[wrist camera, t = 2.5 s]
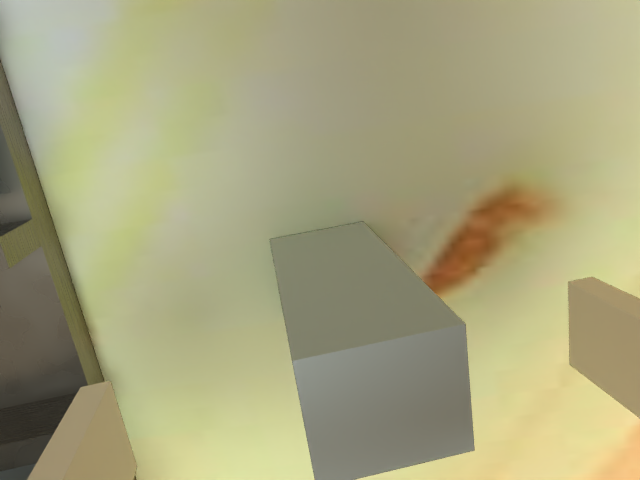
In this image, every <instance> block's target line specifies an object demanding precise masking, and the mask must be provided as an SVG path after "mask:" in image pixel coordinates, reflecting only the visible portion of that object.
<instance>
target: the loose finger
mask: <svg viewBox="0 0 640 480" xmlns="http://www.w3.org/2000/svg"><path fill="white" fill-rule="evenodd" d="M270 245H271V250H272V255H273V261H274V266H275V272H276V277H277V282H278V288H279V293H280V298H281V304H282V309H283V315H284V320H285V325H286V331H287V336H288V342H289V347H290V352H291V358H292V363H293V368H294V374H295V379H296V384H297V389H298V394H299V400H300V405H301V410H302V415H303V421H304V426H305V431H306V436H307V441H308V447H309V452H310V457H311V462H312V467H313V473H314V478H315V480H355V479H359V478H363V477H367V476H371V475H375V474H379V473H383V472H388V471H392V470H396V469H400V468H404V467H408V466H412V465H416V464H421V463H425V462H429V461H433V460H437V459H441V458H445V457H450V456H454V455H458V454H462V453H466V452H470V451H474V450H475V449H474V436H473V422H472V408H471V394H470V380H469V366H468V353H467V339H466V325H465V323H464V322H463V321H462V320H461V319H460V318H459V317H458V316H457V315H456V314H455V313H454V312H453V311H452V310H451V309H450V308H449V307H448V306H447V305H446V304H445V303H444V302H443V301H442V300H441V299H440V298H439V297H438V296H437V295H436V294H435V293H434V292H433V291H432V290H431V289H430V288H429V287H428V286H427V285H426V284H425V283H424V282H423V281H422V280H421V279H420V278H419V277H418V276H417V275H416V274H415V273H414V272H413V271H412V270H411V269H410V268H409V267H408V266H407V265H406V264H405V263H404V262H403V261H402V260H401V259H400V258H399V257H398V256H397V255H396V254H395V253H394V252H393V251H392V250H391V249H390V248H389V247H388V246H387V245H386V244H385V243H384V242H383V241H382V240H381V239H380V238H379V237H378V236H377V235H376V234H375V233H374V232H373V231H372V230H371V229H370V228H369V227H368V226H367V225H366V224H365V223H364V222H358V223H353V224H347V225H342V226H337V227H331V228H326V229H321V230H316V231H310V232H305V233H300V234H294V235H289V236H284V237H278V238H273V239H270Z"/></svg>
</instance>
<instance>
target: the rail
mask: <svg viewBox="0 0 640 480" xmlns="http://www.w3.org/2000/svg"><path fill="white" fill-rule="evenodd" d="M102 382H104V380H103V376H102V373H101V370H100V367H99V364H98V361H97V358H96V355H95V352H94V349H93V346H92V342H91V339H90V336H89V333H88V330H87V327H86V324H85V321H84V318H83V315H82V312H81V308H80V305H79V302H78V299H77V296H76V293H75V290H74V287H73V284H72V281H71V278H70V274H69V271H68V268H67V265H66V262H65V259H64V256H63V253H62V250H61V247H60V244H59V240H58V237H57V234H56V231H55V228H54V225H53V222H52V219H51V216H50V213H49V210H48V206H47V203H46V200H45V197H44V194H43V191H42V188H41V185H40V182H39V179H38V176H37V172H36V169H35V166H34V163H33V160H32V157H31V154H30V151H29V148H28V145H27V142H26V138H25V135H24V132H23V129H22V126H21V123H20V120H19V117H18V114H17V111H16V108H15V104H14V101H13V98H12V95H11V92H10V89H9V86H8V83H7V80H6V77H5V74H4V70H3V67H2V64H1V61H0V471H5V470H9V469H14V468H18V467H22V466H27V465H31V464H36V463H37V462H38V460H39V458H40V456H41V455H42V453H43V451H44V450H45V448H46V446H47V444H48V443H49V441H50V439H51V437H52V436H53V434H54V432H55V430H56V429H57V427H58V425H59V424H60V422H61V420H62V418H63V417H64V415H65V413H66V411H67V410H68V408H69V406H70V405H71V403H72V401H73V399H74V398H75V396H76V394H77V392H78V391H79V389H80V387H84V386H88V385H93V384H98V383H102ZM133 480H136V478H135V476H134V479H133Z"/></svg>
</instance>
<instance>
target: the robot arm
mask: <svg viewBox="0 0 640 480" xmlns="http://www.w3.org/2000/svg"><path fill="white" fill-rule="evenodd" d="M568 301H569V364H570V365H571V366H572V367H573V368H575V369H576V370H577V371H579V372H580V373H581V374H583V375H584V376H585V377H587V378H588V379H589V380H590V381H592V382H593V383H594V384H596V385H597V386H598V387H600V388H601V389H602V390H603V391H605V392H606V393H607V394H609V395H610V396H611V397H613V398H614V399H615V400H617V401H618V402H619V403H620V404H622V405H623V406H624V407H626V408H627V409H628V410H630V411H631V412H632V413H633V414H635V415H636V416H637V417H639V418H640V299H639V298H637V297H635V296H633V295H630V294H628V293H626V292H624V291H622V290H620V289H618V288H615V287H613V286H611V285H609V284H607V283H605V282H603V281H600V280H598V279H596V278H594V277H588V278H583V279H579V280H574V281H569V282H568ZM136 469H137V464H136V461H135V458H134V455H133V452H132V448H131V445H130V442H129V439H128V436H127V432H126V429H125V426H124V423H123V419H122V416H121V413H120V410H119V407H118V403H117V400H116V397H115V394H114V391H113V387H112V384H111V381H107V382H102V383H98V384H93V385H88V386H84V387H80V389H79V391H78V392H77V394H76V396H75V398H74V399H73V401H72V403H71V405H70V406H69V408H68V410H67V411H66V413H65V415H64V417H63V418H62V420H61V422H60V424H59V425H58V427H57V429H56V430H55V432H54V434H53V436H52V437H51V439H50V441H49V443H48V444H47V446H46V448H45V450H44V451H43V453H42V455H41V456H40V458H39V460H38V462H37V463H36V465H35V467H34V469H33V470H32V472H31V474H30V475H29V477H28V479H27V480H133V479H134V476H135V473H136Z"/></svg>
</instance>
